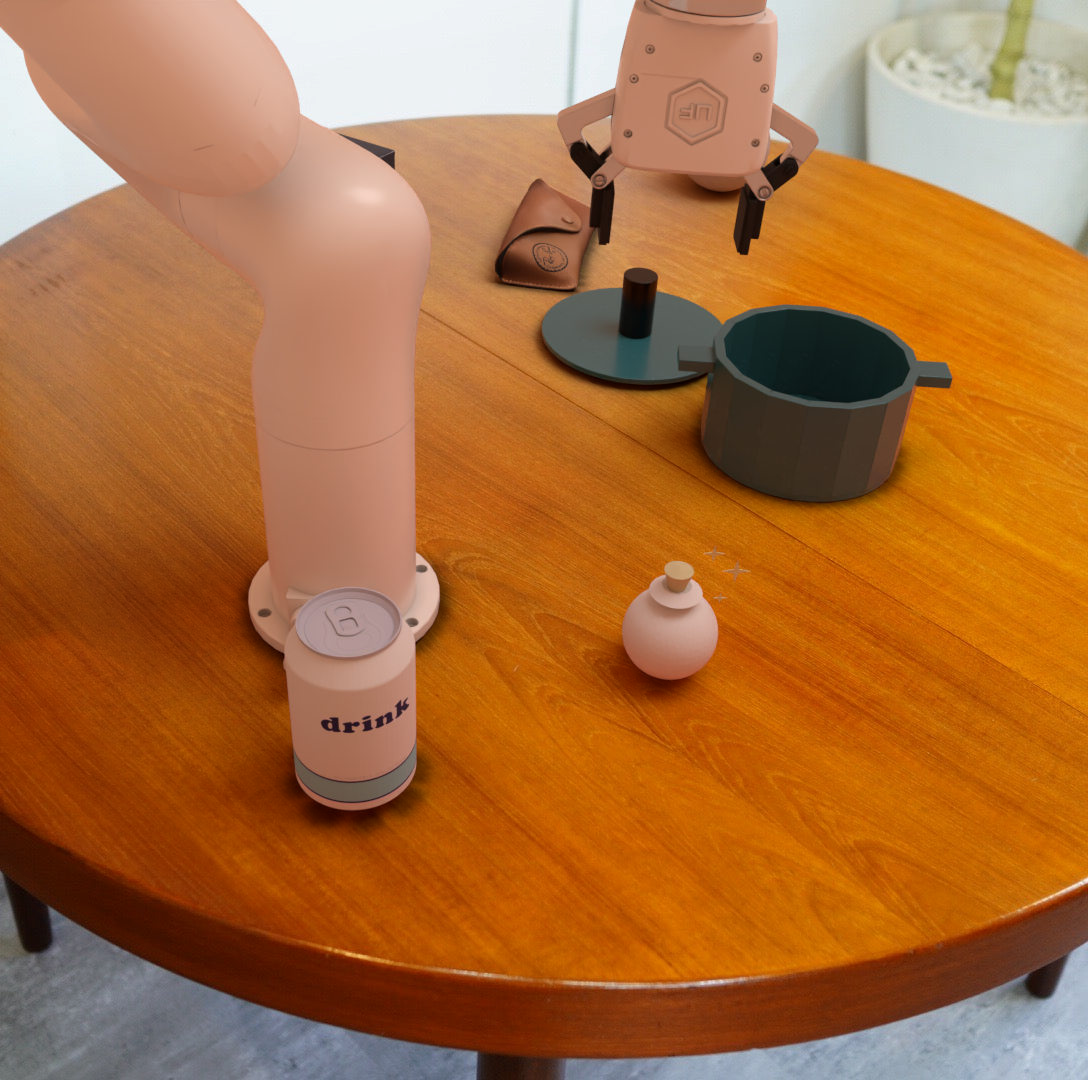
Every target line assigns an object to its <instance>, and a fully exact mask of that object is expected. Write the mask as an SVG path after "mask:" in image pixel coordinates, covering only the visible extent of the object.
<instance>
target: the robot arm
mask: <svg viewBox="0 0 1088 1080" xmlns="http://www.w3.org/2000/svg"><path fill="white" fill-rule="evenodd" d="M767 3H768V0H635V1H634V4H633V6H632V10H631V12H630V16H629V20H628V23H627V27H626V30H625V36H624V40H623V44H622V49H621V52H620V57H619V62H618V69H617V74H616V81H615V87H613V88H611V89H608V90H606V91H603V92H602V93H599V94H596V95H593V96H591V97H590V98H587V99H584V100H582V101H580V102H578V103H575V104H573V105H570V106H568V107H566V108H563V109H561V110H559V112H558V113H557V116H556V123H557V128H558V130H559V133H560V135H561V137H562V140H563V142H564V144H565V146H566V148H567V150H568V153H569V157H570V159H571V160H572V161H573V163H574V164H575V166H577V167H578V168H579V169H580V171H581V172H582V173H583V174H584V175H585V176H586V178H587V179H588V180H589V182H590V184H591V186H592V189H591V197H590V206H589V207H590V217H589V227H591V228H595V229H597V239H598V245H599V246H607V245H609V244H610V241H611V232H612V222H613V214H614V205H615V194H616V190H615V179H616V178H617V177H618V176H619V175H620V174H621V173H622V172H623V171H624V170H625V169H626V168H627V169H631V170H636V171H644V172H654V173H655V172H656V173H668V174H681V175H682V174H683V175H688V174H693V175H708V176H724V177H744V179H745V180H746V182H747V183H745V184H744V186H743V187H741V188H740V193H739V198H738V203H737V210H736V216H735V222H734V228H733V234H732V235H733V236H732V237H733V243H734V245H735V248H736V252H737V254H739V255H740V256H748V255H749V252H750V246H751V241H752V240H759V239H760V235H761V229H762V223H763V218H764V213H765V207H766V202H767V201H769V200H770V199H772V197H773V196H774V193H775V192H776V191H778V189H780V188H781V187H783V186H784V185H785V184H786V183H788V182H789V181H790V180H791V179H793V178H795V177H796V176H797V175H798V172H799V169H800V167H801V166H802V165H803V164H805V162H806V161H807V160H808V159H809V157H810V156H811V154H812V153H813V152H814V150H815V149H816V147H818V145H819V141H820V139H819V136H818V135H817V132H816V130H815V129H814V128H812V127H811V126H810V125H808V124H806V123H805V122H803V121H802V120H800V119H799V118H798V117H796V116H794V115H793V114H791V113H790V112H788V111H787V110H785V109H784V108H782V107H781V106H780V105H778V104H776V103H775V102H774V99H775V98H774V97H775V89H776V88H775V86H776V76H777V63H778V44H779V43H778V40H779V39H778V38H779V34H778V33H779V32H778V31H779V30H778V28H779V27H778V26H779V25H778V16H777V15H776V14H775V13H774V12H773V10H772V9H771V8H769V7H768V6H767ZM0 29H1V30H2V31H3V32H4V33H5V34H6V35H7V36H8V37H9V38H10V39H11V40H12V41H13V42H14V43H15V44H16V45H17V46H18V48H19V49H21V50H22V52H23V58H24V63H25V67H26V69H27V73H28V76H29V78H30V81H31V82H32V85H33V87H34V89H35V91H36V92H37V94H38V95H39V97H40V99H41V100H42V101H43V103H44V104H45V105H46V107H47V109H48V110H49V111H50V112H51V113H52V114H53V115H54V116H55V118H56V119H57V120H58V121H60V123H61V124H62V125H63V126H64V127H66V128H67V130H69V131H70V132H71V133H72V134H73V135H74V136H75V137H76V138H77V139H78V140H79V141H80V142H82V143H83V144H84V145H85V146H86V147H87V148H88V149H89V150H91V151H92V152H93V153H94V154H95V155H96V156H97V157H98V158H99V159H100V160H102V161H103V162H104V164H106V165H107V166H108V167H109V168H110V169H112V170H113V171H114V172H115V173H116V174H117V175H118V176H119V177H120V178H121V179H123V180H124V181H125V182H126V183H127V184H128V185H129V186H130V187H131V188H132V189H133V190H135V191H136V192H137V193H138V194H139V195H140V196H141V197H143V198H144V199H145V201H147V202H148V203H149V204H150V205H152V207H154V208H155V209H156V210H157V211H158V212H159V213H160V214H161V215H163V216H164V217H165V218H166V219H168V220H169V221H170V222H171V223H172V224H173V225H174V226H175V227H176V228H178V229H179V230H180V232H182V233H184V234H185V235H186V236H187V237H188V238H189V239H191V240H192V241H193V242H194V243H196V244H197V245H199V247H201V248H202V249H203V250H205V251H206V252H208V253H209V254H211V255H212V256H213V257H214V258H215V259H217V260H218V261H220V262H221V263H222V264H224V265H225V266H227V267H228V268H230V269H231V270H232V271H233V272H235V273H236V275H238V277H240V278H241V279H243V281H245V282H247V283H248V284H249V285H250V286H252V287H253V289H254V290H255V291H256V292H257V293H258V296H259V297H260V300H261V303H262V306H263V322H262V325H261V329H260V333H259V335H258V337H257V341H256V343H255V345H254V349H253V353H252V357H251V365H250V366H251V368H250V386H251V387H250V388H251V398H252V399H251V400H252V407H253V408H252V409H253V416H254V423H255V424H254V425H255V434H256V435H255V436H256V445H257V457H258V464H259V466H258V467H259V474H260V486H261V496H262V506H263V517H264V527H265V528H264V529H265V538H266V539H265V540H266V548H267V549H266V550H267V556H268V557H267V559H268V560H266V561H265V562H264V564H262V566H260V568H259V569H258V570H257V572H256V573H255V575H254V576H253V578H252V580H251V583H250V586H249V589H248V598H247V602H248V603H247V604H248V610H249V615H250V616H249V617H250V620H251V622H252V625H253V627H254V629H255V631H256V632H257V634H258V635H259V636H260V637H261V638H262V640H263V641H264V642H266V643H267V644H268V645H270V646H271V647H273V649H275V650H276V651H278V652H280V653H283V654H284V655H285V653H284V648H285V642H286V639H287V636H288V634H289V632H290V630H291V629H292V628H293V626H294V625H295V623H296V617H297V615H298V612H299V611H300V609H301V608H302V606H303V605H304V604H305V603H306V602H307V601H309V600H310V599H311V598H313V597H315V596H316V595H318V594H320V593H323V592H325V591H328V590H332V589H337V588H343V587H360V588H367V589H371V590H374V591H377V592H380V593H382V594H384V595H386V596H387V597H389V598H390V599H391V600H392V601H393V602H394V603H395V604H396V605H397V606H398V608H399V610H400V612H401V616H402V618H403V619H404V620H405V622H406V623H407V624H408V625H409V627H410V628H411V630H412V633H413V635H414V639H415V643H416V642H417V641H419V640H420V639H421V638H422V637H424V636H425V635H426V634H427V632H428V631H429V630H430V628H431V627H432V626H433V624H434V622H435V620H436V618H437V616H438V613H439V608H440V602H441V597H440V595H441V593H440V584H439V579H438V576H437V574H436V572H435V570H434V568H433V567H432V565H431V563H429V562H428V561H427V560H426V559H425V558H424V557H423V555H421V554H420V553H418V552H417V533H416V532H417V531H416V530H417V526H416V523H417V521H416V520H417V519H416V517H417V516H416V514H417V512H416V510H417V509H416V508H417V507H416V505H417V504H416V393H415V391H416V390H415V389H416V388H415V384H416V383H415V382H416V380H415V379H416V377H415V376H416V375H415V374H416V345H417V335H418V325H419V319H420V314H421V313H420V312H421V306H422V302H423V299H424V298H423V297H424V293H425V288H426V285H427V279H428V275H429V270H430V264H431V256H432V233H431V227H430V223H429V218H428V215H427V212H426V210H425V208H424V205H423V203H422V202H421V200H420V198H419V196H418V195H417V193H416V192H415V191H414V189H413V187H412V186H411V185H410V184H409V183H408V181H406V179H405V178H404V177H403V176H402V175H401V174H400V173H399V172H398V171H396V169H395V170H394V169H393V168H392V167H391V166H389V165H388V164H387V163H386V162H384V161H383V160H381V159H380V158H379V157H377V156H376V155H374V154H373V153H371V152H369V151H368V150H366V149H364V148H362V147H360V146H359V145H357V144H355V143H353V142H352V141H350V140H348V139H346V138H344V137H343V136H341V135H339V134H340V133H339V134H337V133H338V132H336V131H335V130H334V131H333V130H332V129H330V128H328V127H326V126H323V125H321V124H319V123H318V122H316V121H315V120H313V119H310V118H309V117H307V116H306V115H304V114H302V113H301V107H300V99H299V95H298V91H297V87H296V84H295V81H294V78H293V76H292V73H291V70H290V68H289V67H288V65H287V63H286V61H285V59H284V57H283V56H282V54H281V52H280V50H279V48H278V47H277V45H276V44H275V42H274V41H273V40H272V39H271V37H270V36H269V35H268V34H267V32H266V31H265V29H264V28H263V26H261V24H260V23H259V22H258V21H256V19H254V17H253V16H252V15H251V14H250V13H249V12H248V11H247V10H246V9H245V8H244V7H243V6H242V4H241V3H239V1H238V0H0ZM608 117H610V141H609V143H607V144H606V146H604V147H603V148H602V149H601V150H600V151H599V152H597V151H596V149H595V148H593V146H592V145H591V144H590V143H589V142H588V141H587V139H586V137H585V135H584V133H583V129H584V128H585V127H587V126H589V125H591V124H594V123H597V122H598V121H601V120H603V119H606V118H608ZM771 130H772V131H774V132H776V133H777V134H778V135H780V136H782V137H783V138H785V139H786V140H788V141H789V144H788V145H787V146H786V149H785V151H783V152H782V153H781V154H779V155H778V156H776V157H775V158H774V159H773V160H771V161H770V162H769V163H767V164H765V166H764V167H763V162H764V159H765V155H766V150H767V145H768V138H769V132H770V131H771ZM335 132H336V133H335ZM282 665H283V670H285V671H286V664H285V657H283V662H282Z"/></svg>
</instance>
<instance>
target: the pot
mask: <svg viewBox="0 0 1088 1080" xmlns="http://www.w3.org/2000/svg"><path fill="white" fill-rule="evenodd" d="M677 362H678V371H689V372H704V373H705V374H707V379H706V384H705V385H706V387H705V391H704V399H703V406H702V413H701V418H700V419H701V420H700V428H701V430H700V440H701V445H702V447H703V449H704V452H705V453H706V455H707V457H708V458H709V460H710V461H711V462H712V463H713V464H714V465H715V466H716V467H717V468H718V469H719V470H720V471H721V472H723V473H724V474H725V475H727V476H728V477H730V478H731V479H732V480H735V481H736V482H738V483H740V484H742V485H743V486H746V487H748V488H750V489H752V490H755V491H757V492H760V493H763V494H766V495H769V496H773V497H777V498H781V499H787V500H792V501H798V502H808V503H811V502H813V503H828V502H829V503H830V502H840V501H847V500H851V499H855V498H859V497H862V496H864V495H867V494H869V493H871V492H873V491H875V490H876V489H878V488H880V487H881V486H882V485H884V484H885V482H886V481H887V480H888V479H889V478H890V476H891V475H892V473H893V471H894V468H895V465H896V462H897V460H898V458H899V454H900V450H901V447H902V443H903V440H904V436H905V431H906V427H907V424H908V422H909V421H908V420H909V416H910V413H911V410H912V406H913V401H914V398H915V394H916V391H917V388H933V389H946V390H947V389H951V386H952V383H953V379H954V378H953V375H952V372H951V371H950V368H949V365H948V363H947V362H945V361H929V360H918V359H917V357H916V354H915V351H914V349H913V348H912V347H911V346H910V345H908V344H907V343H906V342H905V341H904V340H903V339H902V338H900V336H898V335H897V334H896V333H895V332H894V331H893V330H891V329H888V328H886V327H885V326H882V325H880V324H878V323H877V322H874V321H872V320H870V319H868V318H866V317H863V316H861V315H858V314H854V313H850V312H846V311H842V310H837V309H833V308H829V307H825V306H819V305H818V306H817V305H802V304H790V303H789V304H786V303H785V304H777V305H770V306H762V307H756V308H755V307H754V308H750V309H748V310H746V311H744V312H741V313H739V314H737V315H735V316H732V317H730V318H728V319H726V320H725V321H724V322H723V323H722V327H721V328H720V329H719V331H718V332H717V333H716V335H715V336H714V339H713V346H712V347H704V346H689V345H678V351H677Z"/></svg>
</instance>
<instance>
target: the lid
mask: <svg viewBox="0 0 1088 1080" xmlns="http://www.w3.org/2000/svg"><path fill="white" fill-rule="evenodd" d="M658 282H659V275H658V273H657V272H656V271H654V270H653V269H650V268H646V267H631V268H628V269H626V270H625V271H624V273H623V278H622V287H604V288H597V289H591V290H586V291H581V292H577V293H575V294H572V295H569V296H568V297H565V298H563V299H561V300H560V301H557V302H556V303H554V305H552V307H550V308H549V309H548V311H547V312H546V313H545V315H544V317H543V319H542V322H541V338H542V340H543V343H544V345H545V346H546V349H548V350H549V352H550V353H551V354H552V355H553V356H554V357H556V358H557V359H558V360H559V361H561V362H562V363H563V364H564V365H567V366H568V367H570V368H571V369H574V370H576V371H578V372H580V373H583V374H585V375H588V376H592V377H595V378H598V379H602V380H605V381H610V382H615V383H620V384H622V383H623V384H630V385H644V386H645V385H646V386H647V385H648V386H649V385H650V386H652V385H667V384H674V383H681V382H684V381H689V380H692V379H695V378H698V377H701V376H702V375H704V374H706V373H704V372H689V371H678V362H677V351H678V345H689V346H704V347H712V346H713V339H714V336H715V335H716V333H717V332H718V331H719V329H720V328H721V327H722V325H723V323H722V322H721V321H720V319H719V318H717V317H716V316H715V315H714V314H713V313H711V312H710V311H709V310H707V308H704V307H703V306H701V305H700V304H697V303H695V302H693V301H691V300H688V299H686V298H683V297H681V296H678V295H674V294H671V293H667V292H663V291H658V285H659V284H658Z"/></svg>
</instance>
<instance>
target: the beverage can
mask: <svg viewBox="0 0 1088 1080" xmlns="http://www.w3.org/2000/svg"><path fill="white" fill-rule="evenodd" d="M284 653H285V654H284ZM284 653H283V654H284V658H285V664H286V670H285V674H286V685H287V695H288V706H289V707H288V708H289V717H290V728H291V738H292V740H291V741H292V747H293V751H292V752H293V760H294V772H295V776H296V780H297V782H298V785H299V786H300V788H301V789H302V790H303V792H304V793H305V794H306V795H308V797H310V798H311V799H313V801H315V802H317V803H319V804H322V805H323V806H326V807H328V808H332V809H336V810H342V811H363V810H368V809H373V808H377V807H379V806H382V805H384V804H386V803H389V802H390V801H392V800H394V799H395V798H396V797H398V796H400V795H401V794H402V793H403V792H404V791H405V790H406V789H407V788H408V786H409V785H410V783H411V782H412V780H413V778H414V776H415V773H416V770H417V678H416V677H417V674H416V673H417V672H416V671H417V670H416V669H417V668H416V667H417V666H416V665H417V664H416V662H417V661H416V660H417V659H416V642H415V639H414V635H413V633H412V630H411V628H410V627H409V625H408V624H407V623H406V622H405V620H404V619H403V618H402V616H401V612H400V610H399V608H398V606H397V605H396V604H395V603H394V602H393V601H392V600H391V599H390V598H389V597H387V596H386V595H384V594H382V593H380V592H377V591H374V590H371V589H367V588H360V587H343V588H337V589H332V590H328V591H325V592H323V593H320V594H318V595H316V596H315V597H313V598H311V599H310V600H309V601H307V602H306V603H305V604H304V605H303V606H302V608H301V609H300V611H299V612H298V615H297V617H296V623H295V625H294V626H293V628H292V629H291V630H290V632H289V634H288V636H287V639H286V642H285V648H284Z"/></svg>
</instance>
